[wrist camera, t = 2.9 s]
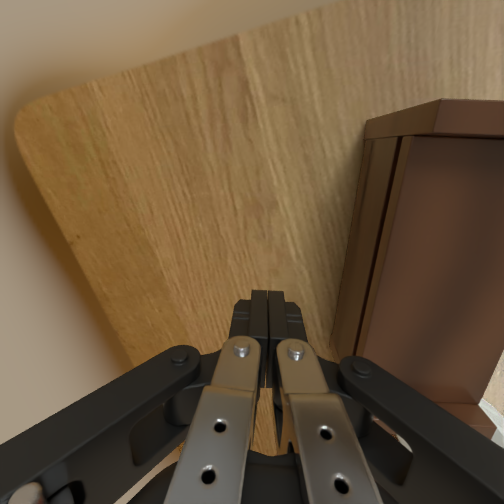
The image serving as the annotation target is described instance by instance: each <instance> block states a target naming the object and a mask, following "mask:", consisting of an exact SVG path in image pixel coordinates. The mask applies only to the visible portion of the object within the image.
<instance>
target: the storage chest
mask: <svg viewBox="0 0 504 504" xmlns="http://www.w3.org/2000/svg"><path fill="white" fill-rule="evenodd" d="M364 140H366V144H365V149H364V155H363V161H362V167H361V173H360V178H359V184H358V190H357V196H356V202H355V207H354V213H353V219H352V225H351V231H350V236H349V242H348V248H347V254H346V260H345V265H344V271H343V277H342V283H341V289H340V294H339V300H338V306H337V312H336V318H335V323H334V329H333V334H331V336H330V342H329V346H330V349H331V352H332V355H333V358H334V361H335V363H338V364H339V363H340V361H341V360H342V359H343V358H344V357H347V356H360V357H363V358H366V359H368V360H370V361H372V362H374V363H375V364H377V365H378V366H380V367H381V368H383V369H384V370H386V371H387V372H389V373H390V374H392V375H393V376H395V377H396V378H398V379H399V380H401V381H402V382H404V383H405V384H407V385H408V386H410V387H411V388H413V389H414V390H416V391H417V392H419V393H420V394H422V395H423V396H425V397H427V398H428V399H430V400H431V401H433V402H434V403H436V404H437V405H439V406H440V407H442V408H443V409H445V410H446V411H448V412H449V413H451V414H452V415H454V416H455V417H457V418H458V419H460V420H461V421H463V422H464V423H466V424H467V425H469V426H470V427H472V428H473V429H475V430H476V431H478V432H479V433H481V434H482V435H484V436H485V437H487V438H489V439H490V440H491V439H492V437H493V435H494V433H495V431H496V429H497V426H496V425H495V424H494V423H493V422H492V420H491V419H490V418H489V417H488V416H487V414H486V413H485V412H484V411H483V410H482V408H481V407H480V406H479V405H478V404H479V403H480V401H481V399H482V397H483V395H484V392H485V390H486V388H487V386H488V383H489V381H490V379H491V377H492V375H493V372H494V370H495V368H496V366H497V363H498V361H499V359H500V357H501V355H502V352H503V350H504V101H498V100H470V99H438V100H435V101H431V102H428V103H424V104H421V105H417V106H414V107H411V108H407V109H404V110H400V111H397V112H393V113H390V114H386V115H383V116H380V117H376V118H373V119H369V120H367V122H366V128H365V134H364ZM373 420H374V421H375V422H376V423H377V424H378V425H380V426H381V427H382V428H383V429H384V430H386V431H387V432H388V433H389V434H396V433H395V432H394V431H393V430H391V429H390V428H389V427H388V426H387V425H385V424H384V423H383V422H382V421H380V420H379V419H378V418H377V417H376V416H374V418H373ZM397 435H398V434H397Z"/></svg>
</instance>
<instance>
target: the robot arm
mask: <svg viewBox="0 0 504 504" xmlns="http://www.w3.org/2000/svg"><path fill="white" fill-rule="evenodd" d="M265 373H266V388H272V416H273V425H274V433H275V442H276V451H277V456H266V455H264V454H261V453H258V452H255V451H253V442H254V432H255V423H256V414H257V404H258V401H259V398H260V388H264V387H265ZM374 416H376V417H377V418H378V419H379V420H380V421H382V422H383V423H384V424H385V425H387V426H388V427H389V428H390V429H391V430H393V431H394V432H395V433H396V434H398V435H399V436H400V437H401V438H402V439H404V440H405V441H406V442H407V444H408V445H409V447H410V448H411V450H412V452H411V451H410V450H408V449H407V448H406V447H405V446H404V445H402V444H401V443H400V442H399V441H398V440H396V439H395V438H394V437H393V436H392V435H390V434H389V433H388V432H387V431H386V430H384V429H383V428H382V427H381V426H380V425H378V424H377V423H376V422H375V421H374V420H373V418H374ZM185 439H186V440H185ZM184 440H185V443H184V446H183V449H182V451H181V454H180V457H179V460H178V461H177V462H175V463H173V464H171V465H170V466H168V467H166V468H165V469H163V470H162V471H161V472H160V473H158V474H157V475H156V476H155V477H154V478H153V479H151V480H150V481H149V482H148V483H147V484H146V485H145V486H144V487H143V488H142V489H141V490H140V491H139V492H138V493H137V494H136V495H135V496H134V497H133V498H132V499H131V500H130V501H129V502H128V503H127V504H504V448H502V447H501V446H499V445H498V444H496V443H495V442H493V441H492V440H490V439H489V438H487V437H485V436H484V435H482V434H481V433H479V432H478V431H476V430H475V429H473V428H472V427H470V426H469V425H467V424H466V423H464V422H463V421H461V420H460V419H458V418H457V417H455V416H454V415H452V414H451V413H449V412H448V411H446V410H445V409H443V408H442V407H440V406H439V405H437V404H436V403H434V402H433V401H431V400H430V399H428V398H427V397H425V396H423V395H422V394H420V393H419V392H417V391H416V390H414V389H413V388H411V387H410V386H408V385H407V384H405V383H404V382H402V381H401V380H399V379H398V378H396V377H395V376H393V375H392V374H390V373H389V372H387V371H386V370H384V369H383V368H381V367H380V366H378V365H377V364H375V363H374V362H372V361H370V360H368V359H366V358H363V357H360V356H347V357H344V358H343V359H342V360H341V361H340V363H339V364H338V363H334V362H331V361H328V360H325V359H323V358H321V357H319V356H317V355H316V353H315V350H314V348H313V347H312V346H311V345H310V344H308V340H307V336H306V331H305V327H304V323H303V319H302V314H301V310H300V308H299V307H298V306H297V305H296V304H295V303H294V302H285V299H284V292H283V291H268V297H267V290H252V294H251V300H243V299H240V300H239V301H238V302H237V303H236V304H235V306H234V311H233V316H232V322H231V327H230V332H229V338H228V340H226V341H225V343H224V344H223V347H222V349H220V350H219V351H217V352H214V353H210V354H205V355H200V353H199V351H198V350H197V349H196V348H194V347H192V346H189V345H178V346H174V347H171V348H169V349H167V350H165V351H164V352H162V353H160V354H158V355H157V356H155V357H153V358H151V359H150V360H148V361H146V362H144V363H143V364H141V365H139V366H137V367H136V368H134V369H132V370H131V371H129V372H127V373H125V374H123V375H122V376H120V377H119V378H116V379H115V380H113V381H111V382H110V383H108V384H106V385H104V386H102V387H101V388H99V389H97V390H95V391H94V392H92V393H90V394H88V395H87V396H85V397H83V398H81V399H80V400H78V401H76V402H74V403H73V404H71V405H69V406H68V407H66V408H64V409H62V410H61V411H59V412H57V413H55V414H54V415H52V416H50V417H48V418H47V419H45V420H43V421H41V422H40V423H38V424H36V425H34V426H33V427H31V428H29V429H28V430H26V431H24V432H22V433H20V434H19V435H17V436H15V437H13V438H12V439H10V440H8V441H6V442H5V443H3V444H1V445H0V504H114V503H115V502H116V501H117V500H118V499H119V498H120V497H121V496H123V495H124V494H125V493H126V492H127V491H128V490H129V489H131V488H132V487H133V486H134V485H135V484H136V483H137V482H138V481H139V480H141V479H142V478H143V477H144V476H145V475H146V474H147V473H148V472H150V471H151V470H152V469H153V468H154V467H155V466H156V465H157V464H158V463H159V462H161V461H162V460H163V459H164V458H165V457H166V456H167V455H168V454H169V453H171V452H172V451H173V450H174V449H175V448H176V447H177V446H179V445H180V444H181V443H182V442H183V441H184ZM374 480H375V481H374Z"/></svg>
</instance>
